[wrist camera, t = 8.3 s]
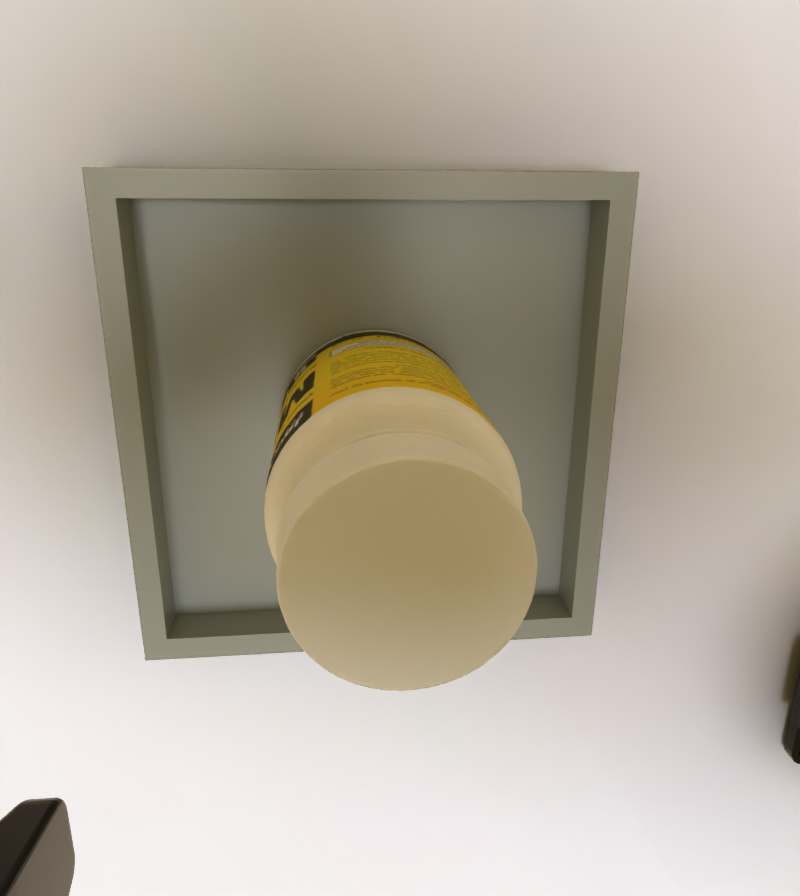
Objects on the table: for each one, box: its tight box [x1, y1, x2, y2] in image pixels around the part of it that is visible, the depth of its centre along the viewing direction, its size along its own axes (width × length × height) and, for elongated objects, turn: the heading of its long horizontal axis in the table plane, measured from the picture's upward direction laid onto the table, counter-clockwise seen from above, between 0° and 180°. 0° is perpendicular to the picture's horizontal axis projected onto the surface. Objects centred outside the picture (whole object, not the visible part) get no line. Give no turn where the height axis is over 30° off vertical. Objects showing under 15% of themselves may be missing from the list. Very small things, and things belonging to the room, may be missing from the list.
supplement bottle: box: [264, 330, 537, 691], centre depth 15 cm, size 5×5×8 cm
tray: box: [82, 168, 639, 660], centre depth 18 cm, size 12×12×2 cm
